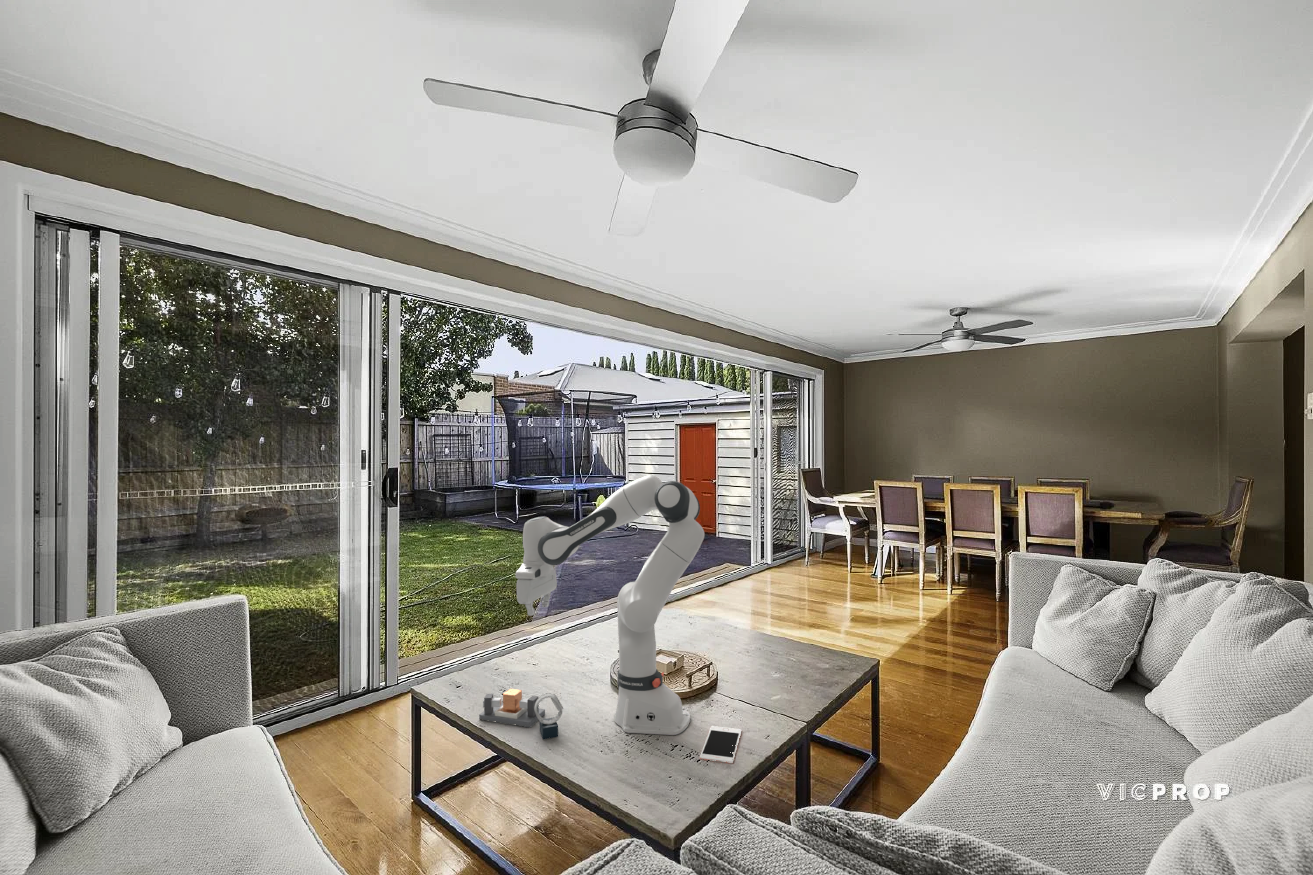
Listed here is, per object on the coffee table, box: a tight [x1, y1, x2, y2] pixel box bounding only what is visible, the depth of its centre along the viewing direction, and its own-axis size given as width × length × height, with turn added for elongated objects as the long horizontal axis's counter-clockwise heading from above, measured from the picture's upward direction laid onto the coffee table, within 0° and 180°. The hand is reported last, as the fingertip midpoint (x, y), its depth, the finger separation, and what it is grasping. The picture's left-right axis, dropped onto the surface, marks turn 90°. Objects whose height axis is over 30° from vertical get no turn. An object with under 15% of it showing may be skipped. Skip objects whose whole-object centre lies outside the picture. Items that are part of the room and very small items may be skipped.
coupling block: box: [502, 688, 523, 714], centre depth 183 cm, size 4×4×6 cm
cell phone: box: [699, 725, 743, 762], centre depth 166 cm, size 9×18×1 cm, turn 165°
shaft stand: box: [478, 693, 546, 728], centre depth 184 cm, size 17×9×6 cm, turn 72°
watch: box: [534, 692, 564, 740], centre depth 173 cm, size 6×8×11 cm
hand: (538, 610), depth 196 cm, fingers open, 8 cm apart
